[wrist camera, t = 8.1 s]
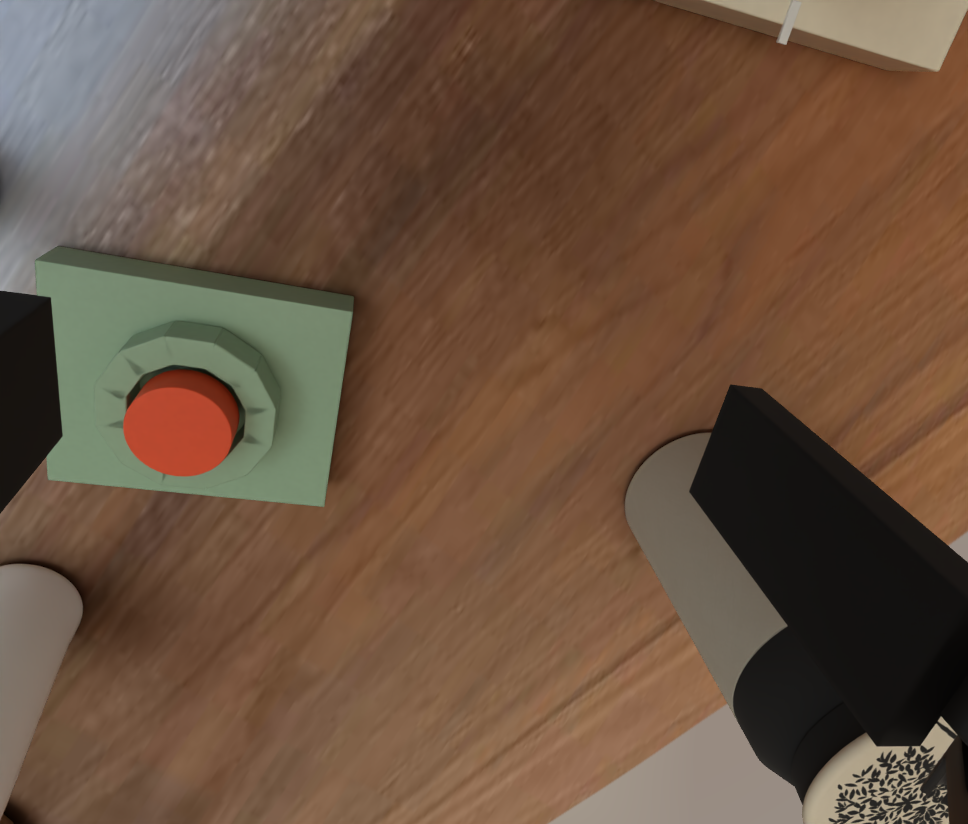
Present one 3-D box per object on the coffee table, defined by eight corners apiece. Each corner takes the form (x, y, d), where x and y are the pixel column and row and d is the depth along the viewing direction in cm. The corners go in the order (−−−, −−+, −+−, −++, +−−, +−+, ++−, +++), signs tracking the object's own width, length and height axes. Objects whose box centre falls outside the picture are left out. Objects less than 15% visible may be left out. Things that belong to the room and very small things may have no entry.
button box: (67, 454, 32) (29, 503, 28) (57, 245, 28) (12, 272, 24) (326, 482, 35) (321, 530, 31) (354, 295, 30) (352, 326, 27)
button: (136, 449, 28) (122, 471, 27) (136, 361, 27) (122, 380, 25) (236, 460, 29) (228, 482, 28) (243, 376, 28) (235, 395, 26)
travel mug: (670, 569, 41) (860, 889, 25) (595, 493, 37) (759, 810, 22) (781, 488, 39) (1058, 777, 24) (713, 401, 36) (983, 672, 20)
